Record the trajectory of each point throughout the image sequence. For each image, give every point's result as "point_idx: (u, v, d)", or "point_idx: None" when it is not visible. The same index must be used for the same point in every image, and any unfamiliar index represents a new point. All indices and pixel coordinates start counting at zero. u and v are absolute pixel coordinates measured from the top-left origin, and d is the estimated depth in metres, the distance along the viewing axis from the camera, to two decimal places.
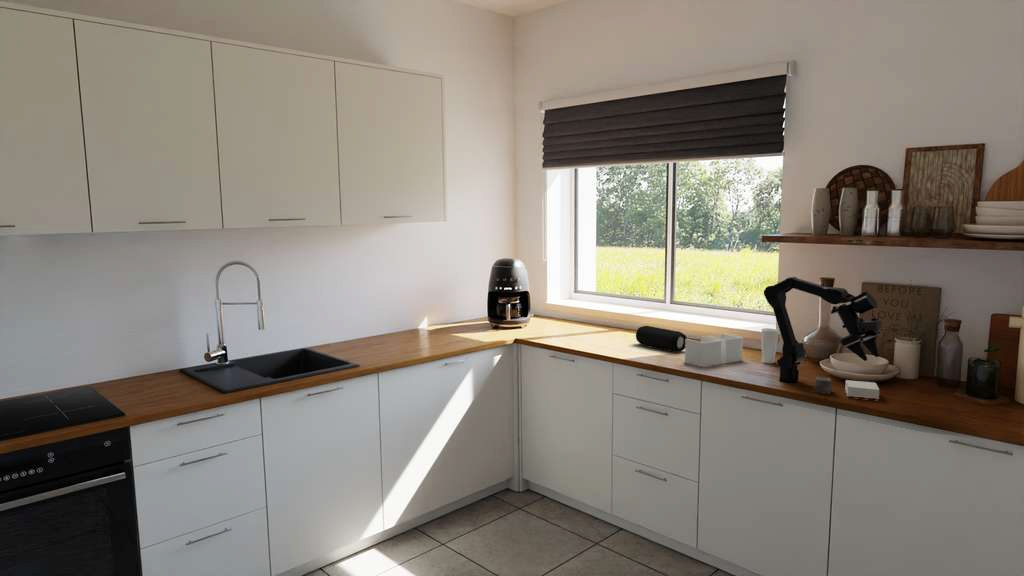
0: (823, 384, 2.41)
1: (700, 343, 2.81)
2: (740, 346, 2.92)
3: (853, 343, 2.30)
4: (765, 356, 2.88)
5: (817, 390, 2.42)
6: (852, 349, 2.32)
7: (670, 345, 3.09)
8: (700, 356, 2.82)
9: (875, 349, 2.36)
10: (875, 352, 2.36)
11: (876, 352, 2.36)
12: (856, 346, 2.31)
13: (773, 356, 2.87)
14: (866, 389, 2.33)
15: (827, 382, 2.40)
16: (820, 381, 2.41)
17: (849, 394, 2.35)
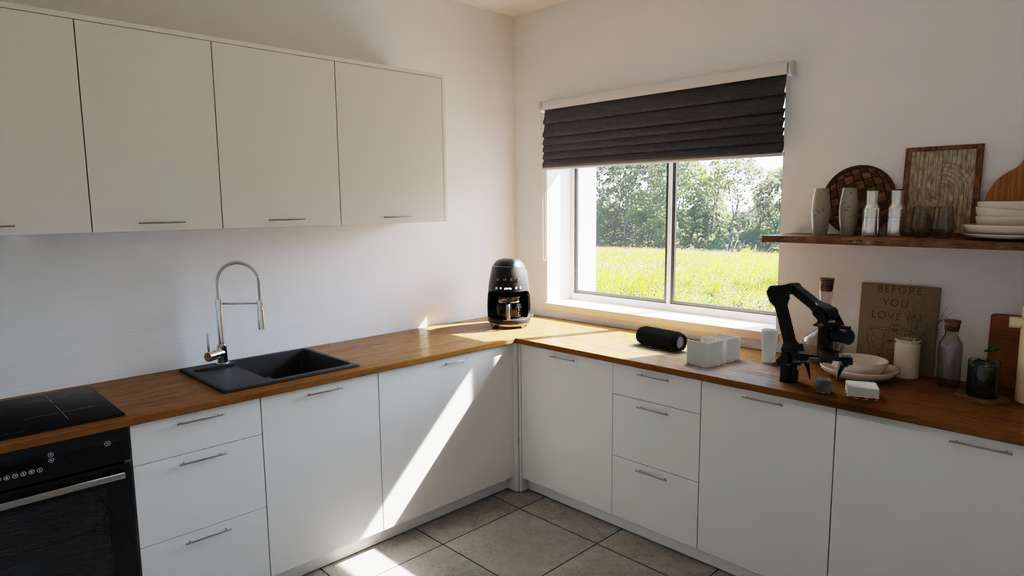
0: (823, 384, 2.41)
1: (704, 344, 2.80)
2: (738, 345, 2.94)
3: None
4: (765, 356, 2.88)
5: (817, 390, 2.42)
6: None
7: (670, 345, 3.09)
8: (704, 357, 2.81)
9: (837, 375, 2.40)
10: (836, 377, 2.41)
11: (836, 377, 2.41)
12: None
13: (773, 356, 2.87)
14: (866, 389, 2.33)
15: (827, 382, 2.40)
16: (820, 381, 2.41)
17: (849, 394, 2.35)
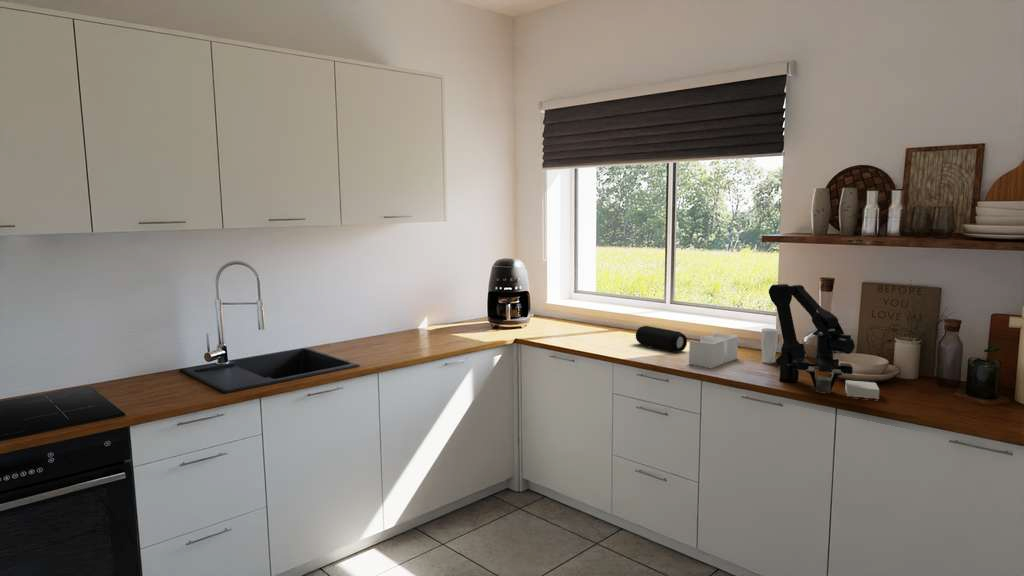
0: (823, 384, 2.41)
1: (708, 344, 2.79)
2: (736, 345, 2.95)
3: (806, 369, 2.44)
4: (765, 356, 2.88)
5: (817, 390, 2.42)
6: None
7: (670, 345, 3.09)
8: (708, 357, 2.80)
9: (831, 383, 2.42)
10: None
11: None
12: None
13: (773, 356, 2.87)
14: (866, 389, 2.33)
15: (827, 382, 2.40)
16: (820, 381, 2.41)
17: (849, 394, 2.35)
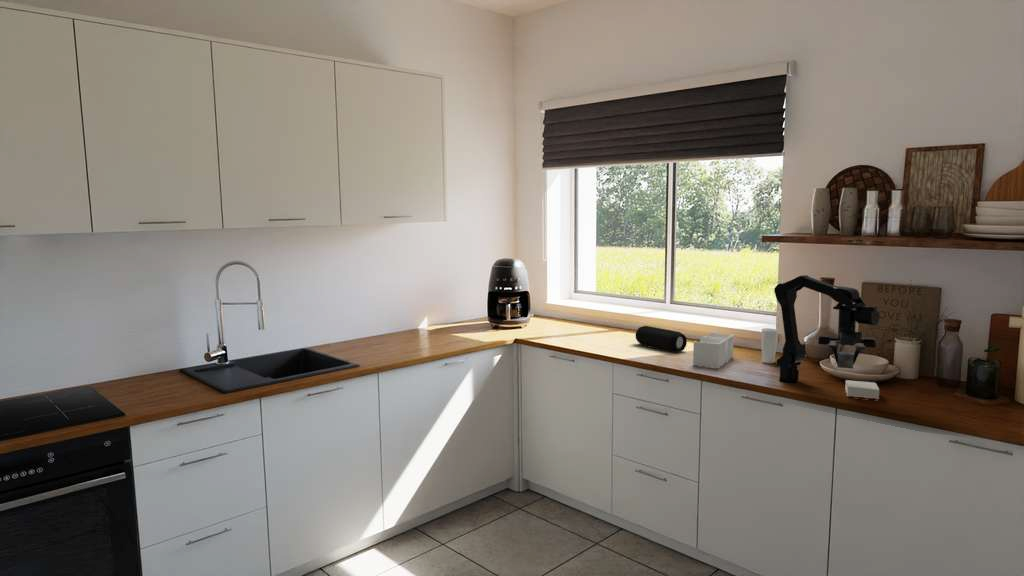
0: (845, 358, 2.37)
1: (714, 345, 2.79)
2: (732, 344, 2.98)
3: None
4: (765, 356, 2.88)
5: (839, 364, 2.38)
6: None
7: (669, 345, 3.09)
8: (714, 358, 2.79)
9: None
10: (853, 359, 2.38)
11: (853, 360, 2.38)
12: None
13: (773, 356, 2.87)
14: (866, 389, 2.33)
15: (849, 356, 2.36)
16: (842, 355, 2.37)
17: (849, 394, 2.35)
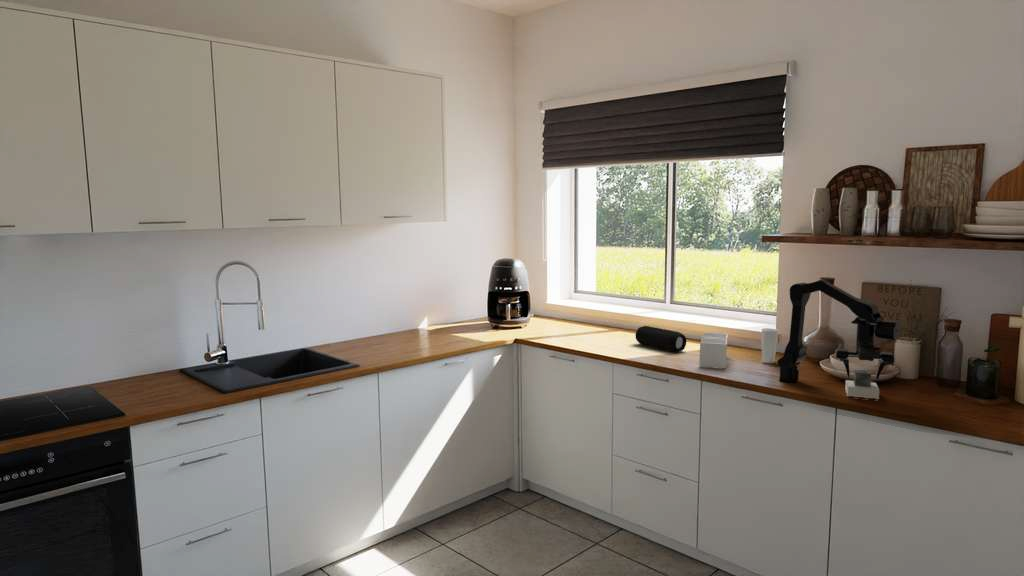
0: (863, 377, 2.35)
1: (721, 345, 2.78)
2: None
3: None
4: (765, 356, 2.88)
5: (857, 383, 2.36)
6: None
7: (669, 345, 3.09)
8: (721, 358, 2.79)
9: (877, 372, 2.35)
10: (876, 375, 2.36)
11: (876, 375, 2.35)
12: None
13: (773, 356, 2.87)
14: (866, 389, 2.33)
15: (867, 375, 2.35)
16: (860, 374, 2.36)
17: (849, 394, 2.35)
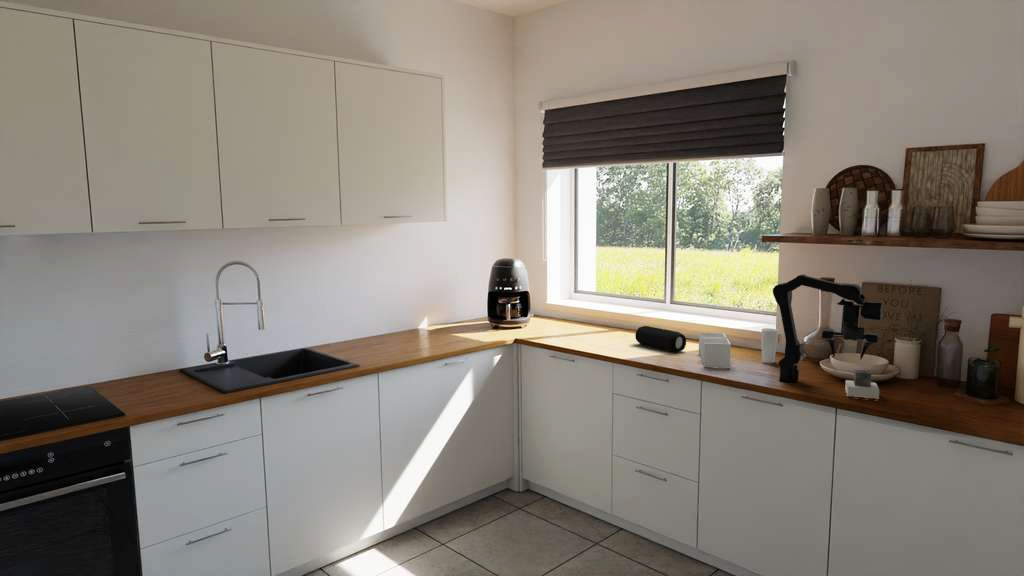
0: (863, 377, 2.35)
1: (725, 345, 2.78)
2: None
3: (825, 338, 2.47)
4: (765, 356, 2.88)
5: (857, 383, 2.36)
6: None
7: (669, 345, 3.09)
8: (725, 358, 2.79)
9: (861, 352, 2.42)
10: (860, 354, 2.43)
11: (860, 355, 2.43)
12: None
13: (773, 356, 2.87)
14: (866, 389, 2.33)
15: (867, 375, 2.35)
16: (860, 374, 2.36)
17: (849, 394, 2.35)
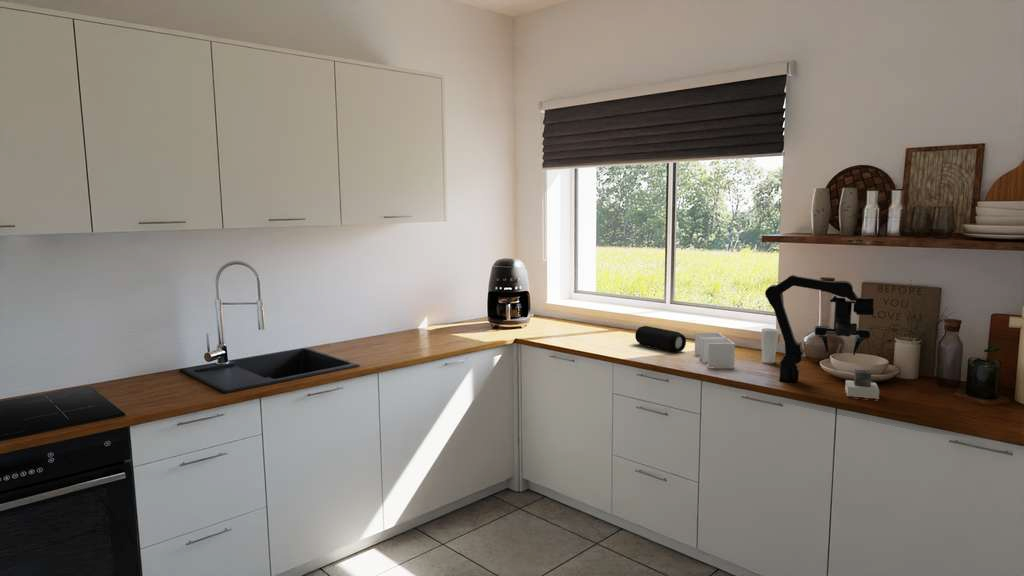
0: (863, 377, 2.35)
1: (730, 345, 2.78)
2: None
3: (818, 335, 2.50)
4: (765, 356, 2.88)
5: (857, 383, 2.36)
6: None
7: (668, 345, 3.08)
8: (730, 358, 2.79)
9: (854, 348, 2.46)
10: (853, 350, 2.47)
11: (853, 351, 2.46)
12: None
13: (773, 356, 2.87)
14: (866, 389, 2.33)
15: (867, 375, 2.35)
16: (860, 374, 2.36)
17: (849, 394, 2.35)
